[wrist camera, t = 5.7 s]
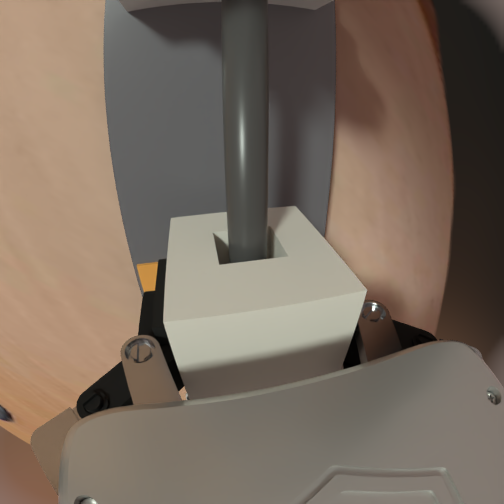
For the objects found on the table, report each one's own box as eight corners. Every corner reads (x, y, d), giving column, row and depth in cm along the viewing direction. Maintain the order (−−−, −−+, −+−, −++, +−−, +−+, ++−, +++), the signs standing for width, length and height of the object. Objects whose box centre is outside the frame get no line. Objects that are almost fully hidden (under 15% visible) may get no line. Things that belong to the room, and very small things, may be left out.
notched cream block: (171, 218, 11) (162, 321, 6) (295, 205, 11) (367, 290, 7) (190, 327, 14) (201, 428, 9) (286, 314, 15) (326, 403, 10)
